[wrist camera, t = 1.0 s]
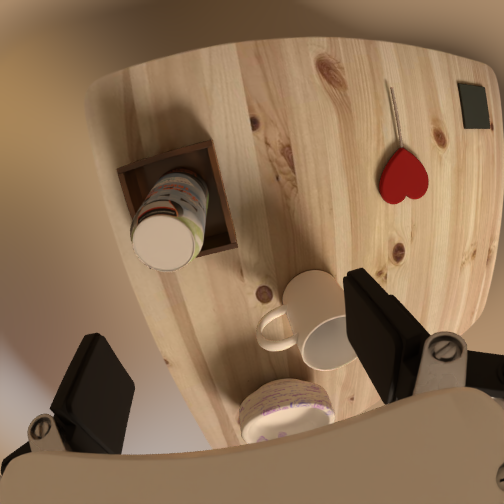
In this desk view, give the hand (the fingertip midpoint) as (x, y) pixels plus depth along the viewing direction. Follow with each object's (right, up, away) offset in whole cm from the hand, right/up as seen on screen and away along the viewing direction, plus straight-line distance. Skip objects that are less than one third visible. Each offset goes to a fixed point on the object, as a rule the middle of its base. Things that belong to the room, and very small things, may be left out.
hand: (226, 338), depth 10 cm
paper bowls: (+6, -22, +36) cm, 43 cm away
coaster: (+35, +25, +20) cm, 47 cm away
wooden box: (-7, +9, +22) cm, 24 cm away
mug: (+7, -3, +28) cm, 29 cm away
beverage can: (-7, +9, +22) cm, 24 cm away
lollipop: (+19, +17, +22) cm, 34 cm away
